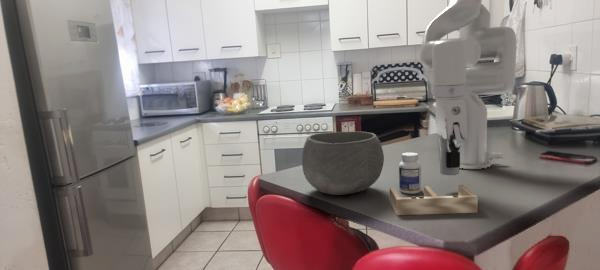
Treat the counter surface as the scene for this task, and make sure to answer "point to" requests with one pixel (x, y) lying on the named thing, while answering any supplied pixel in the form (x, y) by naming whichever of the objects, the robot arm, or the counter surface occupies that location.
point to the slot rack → (435, 202)
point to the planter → (443, 150)
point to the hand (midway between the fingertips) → (449, 163)
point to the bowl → (342, 161)
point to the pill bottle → (410, 174)
